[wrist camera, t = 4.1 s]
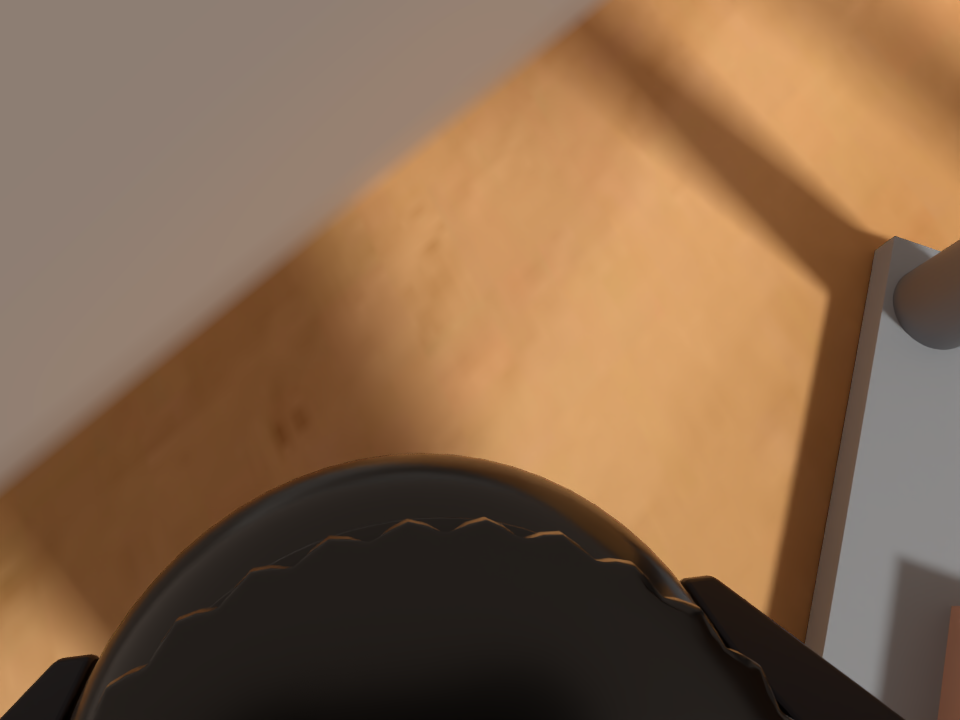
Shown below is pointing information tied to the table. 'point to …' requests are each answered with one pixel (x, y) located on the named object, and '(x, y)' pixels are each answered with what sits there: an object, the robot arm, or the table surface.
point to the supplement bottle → (420, 611)
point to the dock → (899, 494)
